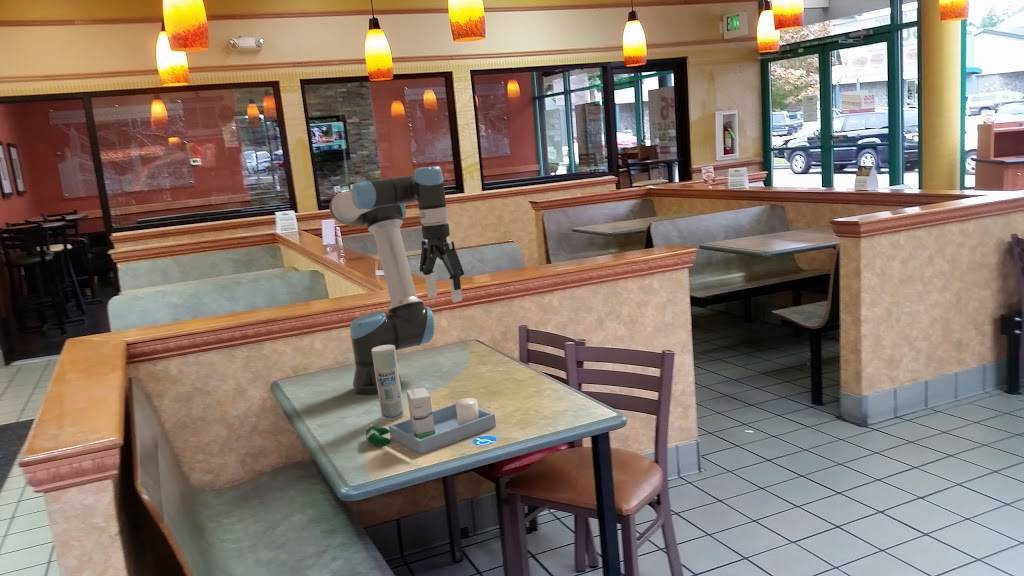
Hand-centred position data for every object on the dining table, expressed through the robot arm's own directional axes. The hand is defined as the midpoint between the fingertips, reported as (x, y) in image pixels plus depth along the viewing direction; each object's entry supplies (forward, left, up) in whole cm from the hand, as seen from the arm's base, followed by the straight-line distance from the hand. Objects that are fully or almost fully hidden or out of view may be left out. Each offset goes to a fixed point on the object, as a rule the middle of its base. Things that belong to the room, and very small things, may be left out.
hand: (444, 299), depth 213 cm
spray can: (-6, -18, -31) cm, 36 cm away
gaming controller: (+8, -29, -31) cm, 43 cm away
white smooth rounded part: (+21, -10, -30) cm, 38 cm away
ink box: (+17, -21, -30) cm, 40 cm away
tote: (+18, -16, -31) cm, 39 cm away
